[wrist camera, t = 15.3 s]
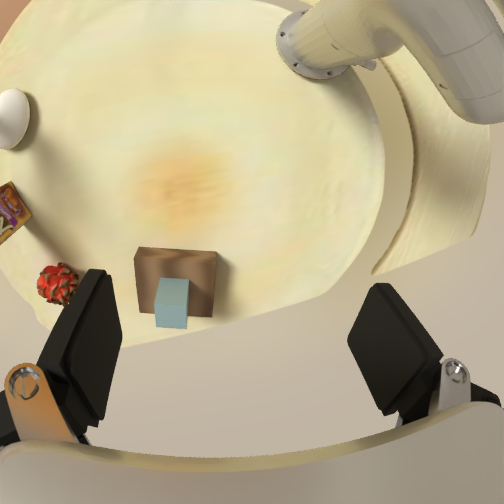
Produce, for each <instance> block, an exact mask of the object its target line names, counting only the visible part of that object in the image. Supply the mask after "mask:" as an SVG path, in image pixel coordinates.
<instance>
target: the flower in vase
mask: <svg viewBox="0 0 504 504" xmlns="http://www.w3.org/2000/svg"><path fill="white" fill-rule="evenodd" d="M29 119H30V107H29V102H28V99H27V97H26V95H25V94H24V93H23V92H22V91H21V90H19V89H17V88H11V89H8V90H6V91H5V92H3V93H2V94H1V95H0V148H1V149H11V148H13V147H15V146H16V145H17V144H18V143H19V142H20V141H21V140H22V138H23V136H24V134H25V132H26V130H27V127H28V124H29Z"/></svg>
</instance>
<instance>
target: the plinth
mask: <svg viewBox="0 0 504 504" xmlns="http://www.w3.org/2000/svg"><path fill="white" fill-rule="evenodd" d="M134 267H135V277H136V287H137V295H138V303H139V311H140V313H151V314H155V308H154V302H155V297H156V293H157V289H158V285H159V281H160V277H161V278H175V279H189V303H188V316H195V317H212V311H213V298H214V286H215V274H216V252H213V251H197V250H181V249H165V248H149V247H139V248H138V250H137V252H136V254H135V257H134Z"/></svg>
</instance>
